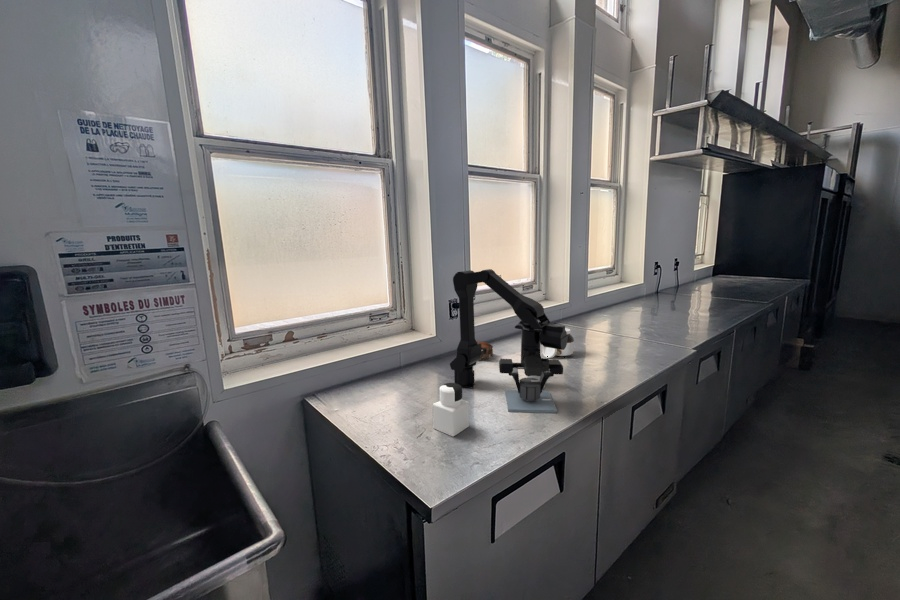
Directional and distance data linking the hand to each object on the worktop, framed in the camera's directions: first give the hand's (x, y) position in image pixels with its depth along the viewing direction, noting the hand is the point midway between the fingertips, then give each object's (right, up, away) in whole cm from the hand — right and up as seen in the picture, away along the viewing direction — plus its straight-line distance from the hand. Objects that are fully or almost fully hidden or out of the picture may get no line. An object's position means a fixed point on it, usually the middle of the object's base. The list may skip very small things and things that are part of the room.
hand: (529, 392), depth 113 cm
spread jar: (+22, +4, +44) cm, 50 cm away
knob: (0, -1, 0) cm, 1 cm away
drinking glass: (+5, -1, +13) cm, 14 cm away
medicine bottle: (-24, -6, -14) cm, 29 cm away
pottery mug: (-11, +4, +43) cm, 44 cm away
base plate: (0, -3, 0) cm, 3 cm away
